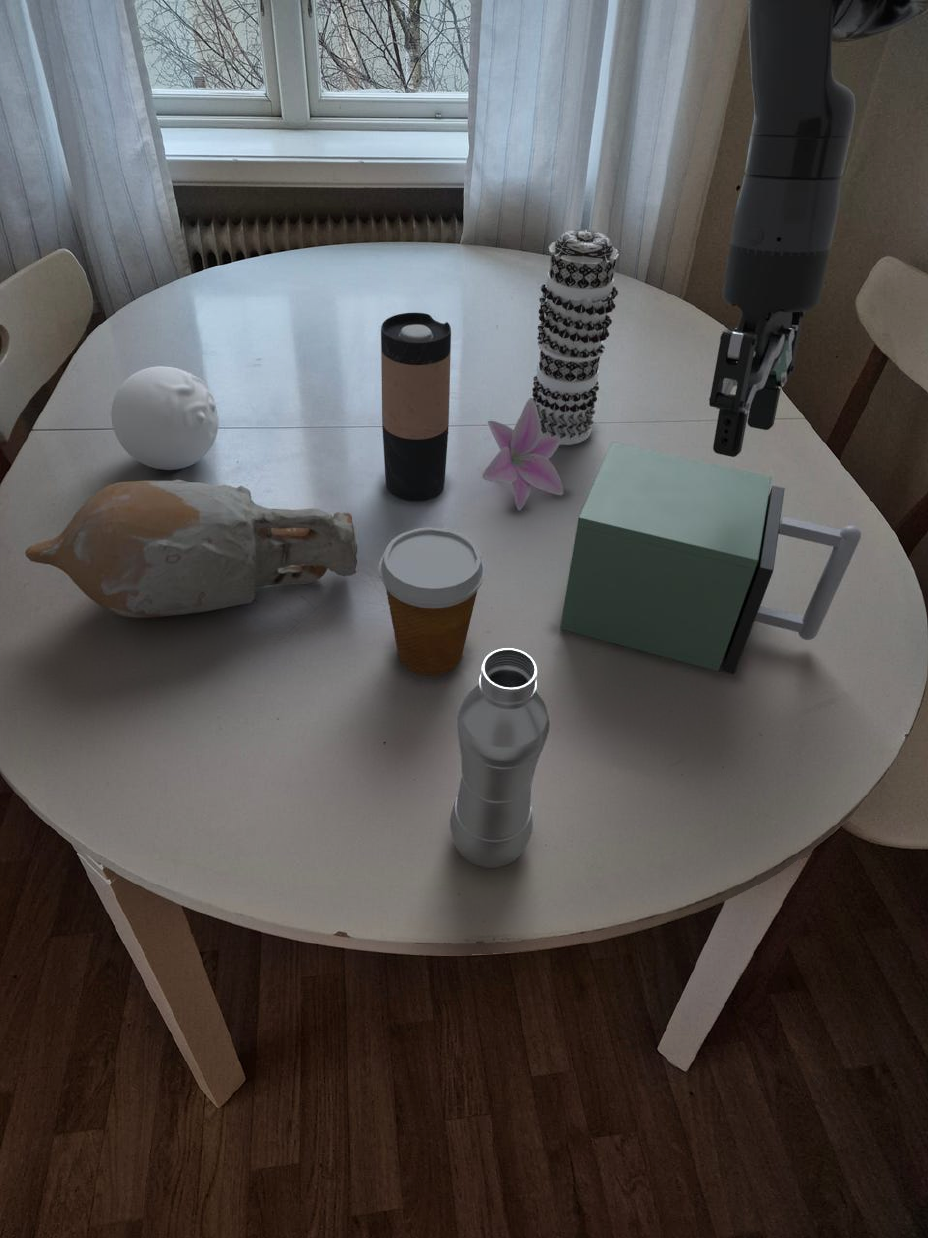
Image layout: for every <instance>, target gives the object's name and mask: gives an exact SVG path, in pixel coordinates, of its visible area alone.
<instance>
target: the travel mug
mask: <svg viewBox="0 0 928 1238" xmlns="http://www.w3.org/2000/svg"><path fill="white" fill-rule="evenodd" d="M451 345H452V328H451V325H450V323H449V322H448V321H445V323H444V322H443V323H442V322H439V321H437V320H435V319H434V318H433V317H432V316H431V315H430V314H429V313H424V312H405V313H398V314H394V315H392V316H390V317H388V318H386V319H385V320H384V321H383V322H382V324H381V326H380V357H381V358H380V359H381V360H380V362H381V363H380V364H381V367H380V368H381V370H380V371H381V372H380V373H381V427H382V443H383V444H382V445H383V461H384V463H383V464H384V478H385V487H386V489H387V491H388V493H390V494H391V495H392V496H393V497H395V498H397V499H398V500H399V499H400V500H403V501H406V502H426V501H430V500H432V499H435V498H437V497H438V496H439V495H440V494H441V493H442V492H443V490H444V488H445V481H446V469H447V457H448V455H447V454H448V441H449V427H450V425H449V424H450V394H451V392H450V389H451V353H452V352H451V351H452V346H451Z"/></svg>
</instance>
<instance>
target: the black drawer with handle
mask: <svg viewBox="0 0 928 1238" xmlns="http://www.w3.org/2000/svg"><path fill="white" fill-rule="evenodd" d="M785 490H786V489H785V487H782V486H781V487H780V486H776V485H772V486H771V487H770V490H769V497H768V503H767V509H766V515H765V522H764V528H763V534H762V540H761V547H760V553H759V559H758V563H757V566H756V568H755V571H754V574H753V577H752V580H751V582H750V585H749V588H748V591H747V594H746V596H745V599H744V602H743V605H742V608H741V610H740V613H739V616H738V619H737V621H736V624H735V627H734V630H733V633H732V635H731V638H730V641H729V644H728V647H727V649H726V652H725V655H724V658H723V661H722V668H721V671H722V672H723V673H728V674H732V675H735V673H736V671H737V668H738V666H739V663H740V660H741V657H742V655H743V652H744V650H745V647H746V645H747V642H748V639H749V636H750V634H751V631H752V629H753V627H754V623H755V622H756V623H761V624H764V625H769V626H773V627H777V628H780V629H783V630H789V631H791V632H796V633H798V635H799V637H800V638H801V639H803V640H805V641H810V640H811V641H812V640H813V639H815V638H816V637H817V636H818V633H819V631H820V629H821V627H822V624H823V621H824V620H825V617H826V615H827V613H828V611H829V609H830V606H831V604H832V602H833V600H834V598H835V596H836V594H837V590H838V589H839V586H840V585H841V582H842V580H843V578H844V576H845V574H846V571H847V569H848V567H849V565H850V563H851V561H852V558H853V556H854V554H855V552H856V549H857V547H858V545H859V543H860V540H861V538H862V533H861V532H862V531H861V530H860V528H859V527H857V526H856V525H852V524H851V525H850V524H849V525H846V526H844V527H842V528H841V529H839V528H835V527H829V526H826V525H822V524H817V523H813V522H808V521H804V520H800V519H795V518H792V517H787V516H782V511H783V504H784V496H785ZM779 535H782V536H786V537H790V538H794V539H799V540H803V541H808V542H812V543H816V544H821V545H825V546H829V547H832V550H831V552H830V554H829V555H828V556H829V557H828V559H827V561H826V563H825V566H824V568H823V571H822V573H821V575H820V577H819V580H818V582H817V585H816V587H815V589H814V592H813V594H812V596H811V599H810V600H809V603H808V606H807V608H806V610H805V612H804V615H803V616H802V615H800V614H799V615H798V614H795V613H790V612H787V611H783V610H779V609H774V608H770V607H766V606H763V605H762V602H763V599H764V597H765V595H766V591H767V588H768V586H769V584H770V581H771V579H772V576H773V573H774V571H775V563H776V555H777V547H778V539H779Z"/></svg>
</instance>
